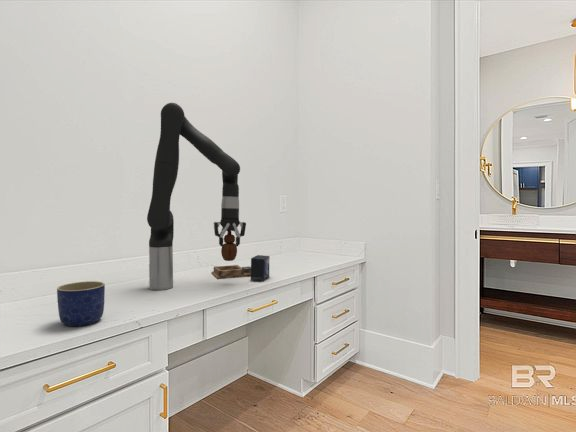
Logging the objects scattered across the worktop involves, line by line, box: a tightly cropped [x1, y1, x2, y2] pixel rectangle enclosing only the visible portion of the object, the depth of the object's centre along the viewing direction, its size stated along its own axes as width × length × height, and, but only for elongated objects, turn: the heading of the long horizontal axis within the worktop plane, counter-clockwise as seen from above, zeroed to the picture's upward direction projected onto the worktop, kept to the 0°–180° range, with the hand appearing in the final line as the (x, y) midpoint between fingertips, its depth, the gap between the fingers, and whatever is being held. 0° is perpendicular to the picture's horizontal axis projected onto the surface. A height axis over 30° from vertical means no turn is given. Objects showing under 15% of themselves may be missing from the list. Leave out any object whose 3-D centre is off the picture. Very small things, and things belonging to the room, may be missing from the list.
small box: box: [250, 254, 270, 283], centre depth 172 cm, size 11×6×10 cm, turn 168°
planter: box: [56, 280, 106, 327], centre depth 111 cm, size 12×12×11 cm
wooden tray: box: [211, 264, 251, 280], centre depth 182 cm, size 20×14×4 cm
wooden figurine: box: [220, 227, 238, 262], centre depth 161 cm, size 7×6×15 cm
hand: (229, 245), depth 161 cm, fingers closed on wooden figurine, 6 cm apart
